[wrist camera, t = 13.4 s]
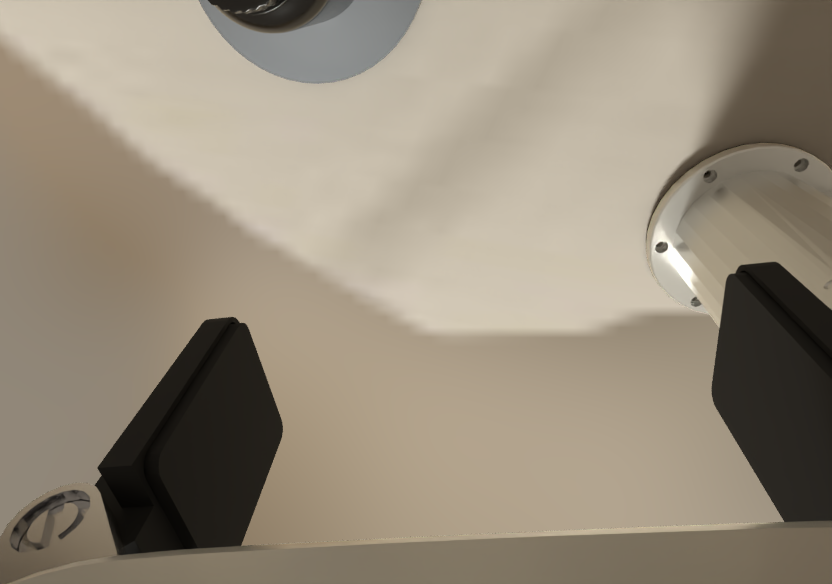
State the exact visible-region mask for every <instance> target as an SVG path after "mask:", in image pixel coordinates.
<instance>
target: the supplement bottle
mask: <svg viewBox="0 0 832 584" xmlns="http://www.w3.org/2000/svg"><path fill="white" fill-rule="evenodd" d="M208 1H209V2H210V3H211V5H213V6H215V7H216V8H217V9H218V10H219V11H220V12H221V13H222V14H223V15H225V16H226V17H227V18H229V19H230V20H232V21H233V22H235V23H236V24H238V25H240V26H242V27H244V28H247V29H249V30H253V31H256V32H261V33H270V34H274V33H286V32H290V31H294V30H298V29H301V28H305V27H308V26H312V25H315V24H319V23H322V22H325V21H328V20H330V19H333V18H335V17H336V16H338V15H339V14H341V13H342V12H343V11H345V10H346V9H347V8H348V7H349V6H350V5H351V3H352V2H353V1H354V0H208Z"/></svg>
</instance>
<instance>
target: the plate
mask: <svg viewBox="0 0 832 584" xmlns="http://www.w3.org/2000/svg"><path fill="white" fill-rule="evenodd" d="M421 1H422V0H354V1H353V2H352V3H351V5H350V6H349V7H348V8H347V9H346V10H345V11H343V12H342V13H341V14H339V15H338V16H336V17H335V18H333V19H330V20H328V21H325V22H322V23H319V24H315V25H312V26H308V27H305V28H301V29H298V30H294V31H290V32H286V33H274V34H270V33H261V32H256V31H253V30H249V29H247V28H244V27H242V26H240V25H238V24H236V23H235V22H233V21H232V20H230V19H229V18H227V17H226V16H225V15H223V14H222V13H221V12H220V11H219V10H218V9H217V8H216V7H215V6H213V5H211V3H210V2H209V1H208V0H199V2H200V4H201V6H202V8H203V9H204V11H205V13H206V14H207V16H208V17H209V19H210V21H211V22H212V24H213V25H214V26H215V28H216V29H217V30H218V31H219V33H220V34H221V35H222V37H223V38H224V39H225V40H226V41H227V42H228V43H229V44H230V45H231V46H232V47H233V48H234V49H235V50H236V51H237V52H239V53H240V54H241V55H242V56H243V57H245V58H246V59H247V60H249V61H250V62H252V63H253V64H255V65H256V66H258V67H259V68H261V69H263V70H265V71H267V72H269V73H271V74H274V75H276V76H279V77H282V78H285V79H288V80H292V81H297V82H302V83H317V84H319V83H330V82H336V81H340V80H345V79H348V78H350V77H353V76H356V75H358V74H360V73H362V72H364V71H366V70H368V69H369V68H371V67H373V66H374V65H375V64H377V63H378V62H379V61H381V60H382V59H383V58H385V57H386V56H387V54H388V53H389V52H390V51H391V50H392V49H393V48H394V47H395V46H396V45H397V44H398V43H399V41H400V40H401V39H402V37H403V36H404V35H405V33H406V32H407V30H408V29H409V27H410V25H411V23H412V22H413V20H414V18H415V16H416V13H417V11H418V8H419V6H420V4H421Z"/></svg>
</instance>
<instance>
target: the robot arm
mask: <svg viewBox="0 0 832 584" xmlns="http://www.w3.org/2000/svg"><path fill="white" fill-rule="evenodd" d="M707 171H708V174H707V175H704V174H705V173H706V172H707ZM659 242H661V243H660V244H658V243H659ZM657 244H658V245H657ZM646 253H647V262H648V264H649V267H650V270H651V272H652V275H653V276H654V278H655V280H656V281H657V283H658V285H659V286H660V287H661V288H662V290H663V291H664V292H665V293H666V294H667V295H668V296H669V297H670V298H671V299H673V300H674V301H675V302H677V303H678V304H680V305H682V306H684V307H686V308H688V309H690V310H693V311H697V312H701V313H705V314H710V316H711V317H712V318H713V320H714V321H715V322H716V324H717V325H718V326H719V328H720V329H719V336H718V344H717V351H716V358H715V366H714V374H713V381H712V397H713V401H714V405H715V407H716V409H717V410H718V412H719V413H720V415H721V417H722V419H723V420H724V422H725V424H726V425H727V426H728V429H729V430H730V432H731V433H732V435H733V437H734V438H735V440H736V442H737V444H738V445H739V447H740V448H741V450H742V452H743V454H744V455H745V457H746V458H747V460H748V462H749V463H750V465H751V467H752V469H753V470H754V472H755V473H756V475H757V477H758V478H759V480H760V482H761V483H762V485H763V487H764V488H765V490H766V492H767V493H768V495H769V497H770V498H771V500H772V502H773V503H774V505H775V507H776V508H777V510H778V512H779V513H780V515H781V517H782V518H783V520H784V522H773V523H771V522H770V523H733V524H710V525H709V524H708V525H684V526H660V527H634V528H610V529H609V528H608V529H583V530H560V531H539V532H516V533H494V534H493V533H492V534H470V535H449V536H429V537H428V536H427V537H406V538H387V539H386V538H385V539H366V540H347V541H327V542H309V543H287V544H268V545H250V546H241V544H242V542H243V539H244V536H245V534H246V531H247V528H248V526H249V523H250V521H251V518H252V515H253V513H254V510H255V507H256V505H257V502H258V499H259V497H260V494H261V491H262V489H263V486H264V483H265V481H266V478H267V475H268V473H269V470H270V468H271V465H272V462H273V460H274V457H275V454H276V451H277V449H278V446H279V444H280V441H281V438H282V432H283V426H282V420H281V417H280V414H279V412H278V409H277V406H276V403H275V401H274V398H273V395H272V392H271V389H270V387H269V384H268V381H267V379H266V376H265V373H264V370H263V367H262V364H261V362H260V359H259V356H258V353H257V351H256V348H255V345H254V343H253V340H252V337H251V334H250V332H249V329H248V327H247V325H246V324H245V323H239V321H238V320H237V319H236V318H234V317H228V318H219V319H209V320H206V321H204V322H203V323H202V325H201V326H200V328H199V329H198V330H197V332H196V333H195V334H194V336H193V337H192V339H191V340H190V341H189V343H188V344H187V345H186V347H185V348H184V349H183V351H182V352H181V354H180V355H179V356H178V358H177V359H176V360H175V362H174V363H173V365H172V366H171V367H170V369H169V370H168V372H167V373H166V374H165V376H164V377H163V378H162V380H161V381H160V382H159V384H158V385H157V387H156V388H155V389H154V391H153V392H152V394H151V395H150V396H149V398H148V399H147V400H146V402H145V403H144V404H143V406H142V407H141V409H140V410H139V411H138V413H137V414H136V416H135V417H134V418H133V420H132V421H131V422H130V424H129V425H128V426H127V428H126V429H125V431H124V432H123V433H122V435H121V436H120V437H119V439H118V440H117V441H116V443H115V444H114V446H113V447H112V449H111V450H110V451H109V452H108V454H107V455H106V457H105V458H104V459H103V461H102V462H101V464H100V465H99V466H98V470H99V471H100V473H101V475H102V476H101V477H100V479H99V480H98V481H97V483H96V484H95V486H94V485H91V484H89V483H72V484H68V485H64V486H61V487H58V488H56V489H54V490H51V491H49V492H47V493H45V494H43V495H42V496H40V497H39V498H37V499H35V500H33V501H32V502H31V503H29V504H28V505H27V506H26V507H24V508H23V509H22V510H21V511H19V512H18V513H17V515H16V516H15V517H14V518H13V519H12V520H11V521H10V522H9V523H8V524H7V526H6V528H5V530H4V531H3V533H2V535H1V536H0V584H832V170H831V169H830V168H829V166H828V165H827V164H825V163H824V162H822V161H821V160H819V159H818V158H817V157H815V156H814V155H812V154H810V153H808V152H805V151H803V150H801V149H799V148H796V147H792V146H788V145H784V144H777V143H756V144H748V145H741V146H738V147H735V148H732V149H728V150H725V151H722V152H720V153H718V154H716V155H714V156H712V157H709V158H707V159H705V160H703V161H702V162H700V163H699V164H698V165H696V166H695V167H693V168H692V169H690V170H689V171H687V172H686V173H685V174H684V175H683V176H682V177H681V178H680V179H679V180H678V181H676V182H675V183H674V184H673V185H672V186H671V188H670V189H669V190H668V192H667V193H666V194H665V195H664V197H663V198H662V199H661V201H660V203H659V205H658V206H657V208H656V210H655V212H654V214H653V216H652V219H651V222H650V225H649V228H648V231H647V240H646Z"/></svg>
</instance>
